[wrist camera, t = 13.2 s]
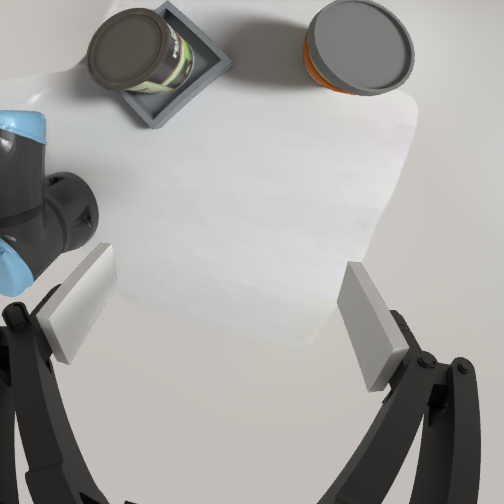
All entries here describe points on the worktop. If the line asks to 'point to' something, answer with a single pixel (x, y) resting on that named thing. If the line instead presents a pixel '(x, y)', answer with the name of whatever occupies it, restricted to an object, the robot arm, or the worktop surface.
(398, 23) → the reusable coffee cup
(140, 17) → the coffee can
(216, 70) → the housing tray
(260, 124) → the worktop surface
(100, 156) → the worktop surface
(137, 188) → the worktop surface
